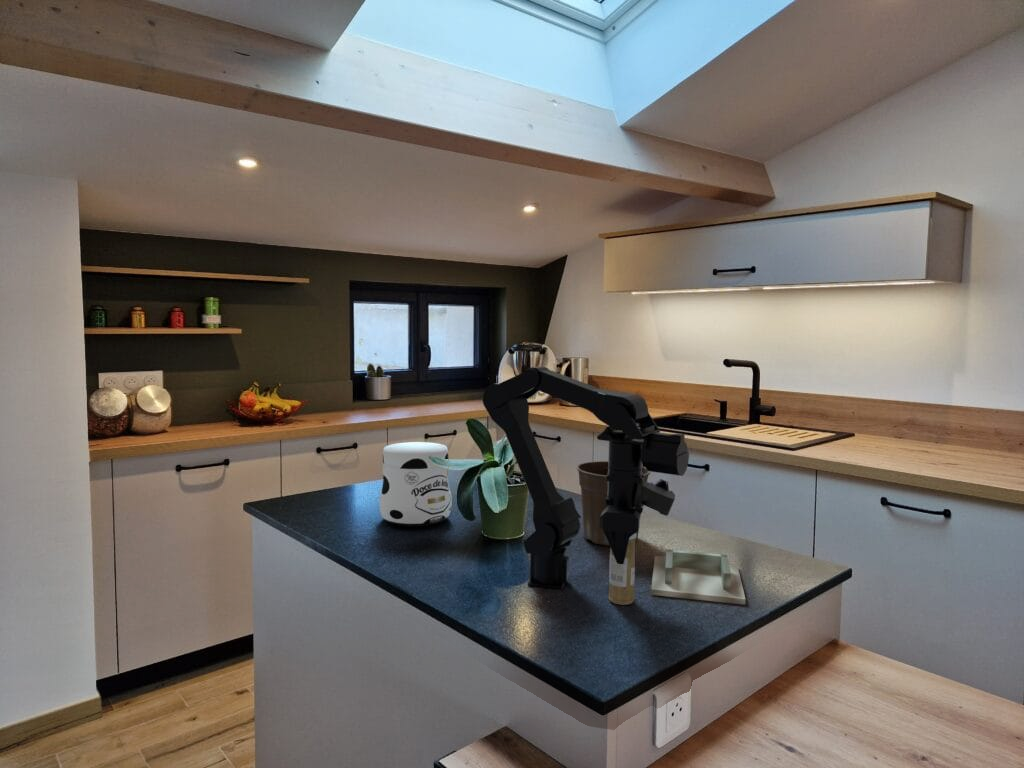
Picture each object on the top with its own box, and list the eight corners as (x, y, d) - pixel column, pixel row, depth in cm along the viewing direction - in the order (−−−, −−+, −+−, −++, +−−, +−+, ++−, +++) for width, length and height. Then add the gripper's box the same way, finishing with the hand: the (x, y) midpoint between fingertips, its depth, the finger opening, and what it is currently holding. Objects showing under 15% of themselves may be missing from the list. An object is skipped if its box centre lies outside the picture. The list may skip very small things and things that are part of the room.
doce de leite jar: (441, 534, 154) (441, 456, 152) (368, 529, 157) (368, 452, 155) (459, 513, 171) (459, 442, 169) (393, 509, 174) (393, 439, 172)
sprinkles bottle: (639, 602, 118) (642, 526, 117) (620, 608, 116) (622, 531, 114) (621, 593, 122) (623, 520, 121) (602, 598, 119) (604, 524, 118)
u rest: (651, 594, 121) (651, 573, 121) (654, 560, 139) (655, 541, 138) (745, 604, 118) (746, 582, 117) (736, 568, 135) (737, 548, 135)
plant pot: (641, 528, 161) (644, 461, 159) (654, 551, 144) (656, 477, 143) (573, 526, 161) (574, 459, 160) (577, 549, 145) (579, 475, 143)
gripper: (672, 483, 106) (668, 580, 107) (673, 460, 124) (670, 543, 125) (600, 478, 108) (598, 573, 110) (612, 456, 126) (609, 537, 128)
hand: (622, 555), depth 118 cm, fingers open, 8 cm apart
